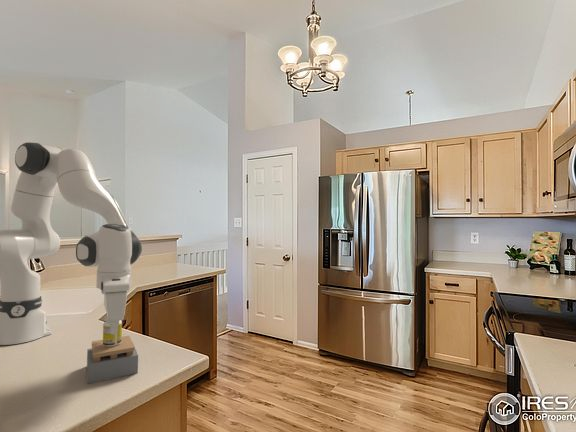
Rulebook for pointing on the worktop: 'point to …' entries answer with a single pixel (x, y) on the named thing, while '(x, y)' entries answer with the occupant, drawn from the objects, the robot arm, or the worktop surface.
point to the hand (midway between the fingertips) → (112, 328)
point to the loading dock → (111, 360)
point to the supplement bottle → (108, 338)
